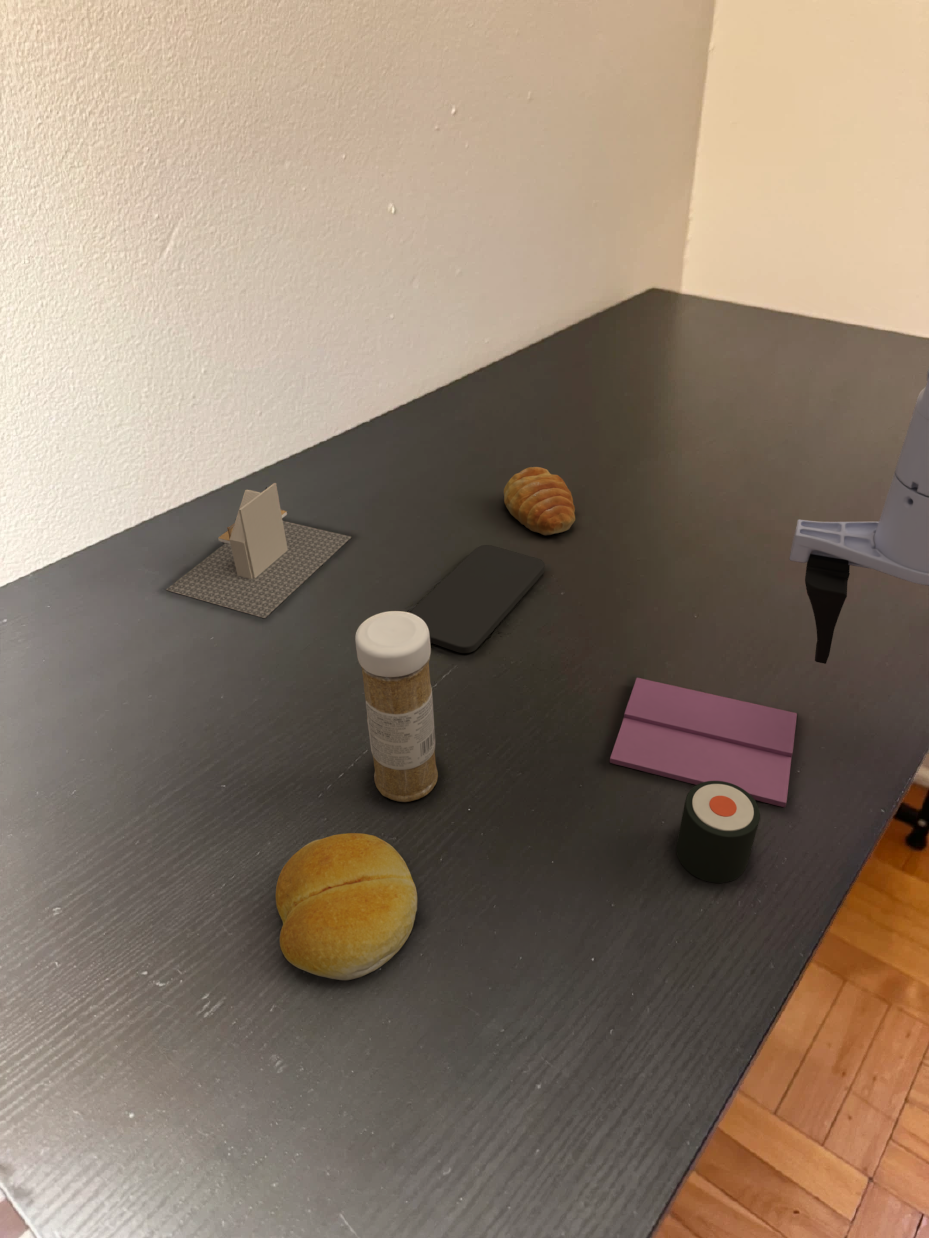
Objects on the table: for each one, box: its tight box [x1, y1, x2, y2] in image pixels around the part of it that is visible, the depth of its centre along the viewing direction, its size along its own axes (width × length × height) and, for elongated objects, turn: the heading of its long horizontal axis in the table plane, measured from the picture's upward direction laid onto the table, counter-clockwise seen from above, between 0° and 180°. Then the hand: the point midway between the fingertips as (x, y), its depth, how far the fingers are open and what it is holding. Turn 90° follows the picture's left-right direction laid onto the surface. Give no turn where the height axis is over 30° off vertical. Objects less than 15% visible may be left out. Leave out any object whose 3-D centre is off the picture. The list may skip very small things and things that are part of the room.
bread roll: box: [275, 832, 418, 981], centre depth 50 cm, size 8×9×4 cm
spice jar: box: [354, 610, 439, 803], centre depth 55 cm, size 5×5×13 cm
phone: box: [409, 544, 546, 654], centre depth 76 cm, size 7×1×15 cm
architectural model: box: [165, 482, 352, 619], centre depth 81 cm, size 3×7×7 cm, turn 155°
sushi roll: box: [675, 781, 761, 884], centre depth 52 cm, size 4×4×5 cm
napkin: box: [609, 677, 798, 808], centre depth 61 cm, size 12×9×1 cm
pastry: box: [503, 466, 576, 536], centre depth 87 cm, size 9×7×4 cm
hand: (883, 666), depth 55 cm, fingers open, 7 cm apart
